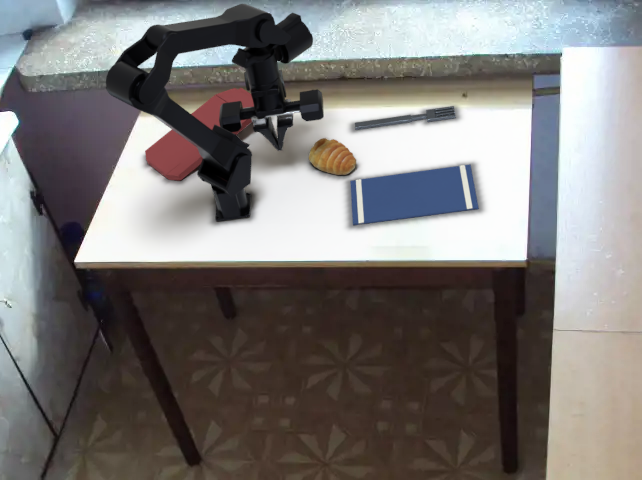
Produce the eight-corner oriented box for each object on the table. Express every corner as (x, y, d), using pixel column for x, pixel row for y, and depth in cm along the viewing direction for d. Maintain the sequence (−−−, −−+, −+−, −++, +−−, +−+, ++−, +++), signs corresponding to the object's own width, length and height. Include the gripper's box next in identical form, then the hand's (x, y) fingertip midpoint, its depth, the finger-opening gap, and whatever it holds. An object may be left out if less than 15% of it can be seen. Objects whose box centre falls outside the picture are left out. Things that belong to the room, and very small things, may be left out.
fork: (455, 118, 182) (455, 115, 182) (355, 132, 184) (355, 129, 184) (453, 108, 184) (453, 105, 184) (354, 122, 186) (354, 120, 186)
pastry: (365, 163, 178) (363, 146, 175) (341, 183, 175) (338, 166, 173) (329, 146, 183) (326, 130, 180) (305, 165, 180) (302, 149, 178)
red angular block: (182, 197, 186) (276, 120, 191) (172, 179, 182) (268, 101, 187) (149, 172, 193) (241, 98, 198) (139, 154, 189) (233, 79, 194)
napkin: (478, 209, 165) (478, 207, 164) (353, 225, 168) (352, 223, 167) (470, 165, 172) (470, 164, 172) (350, 182, 175) (350, 180, 175)
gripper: (315, 43, 169) (328, 116, 181) (214, 59, 172) (233, 130, 183) (316, 78, 162) (329, 152, 174) (210, 94, 164) (230, 166, 176)
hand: (280, 149), depth 177 cm, fingers closed
